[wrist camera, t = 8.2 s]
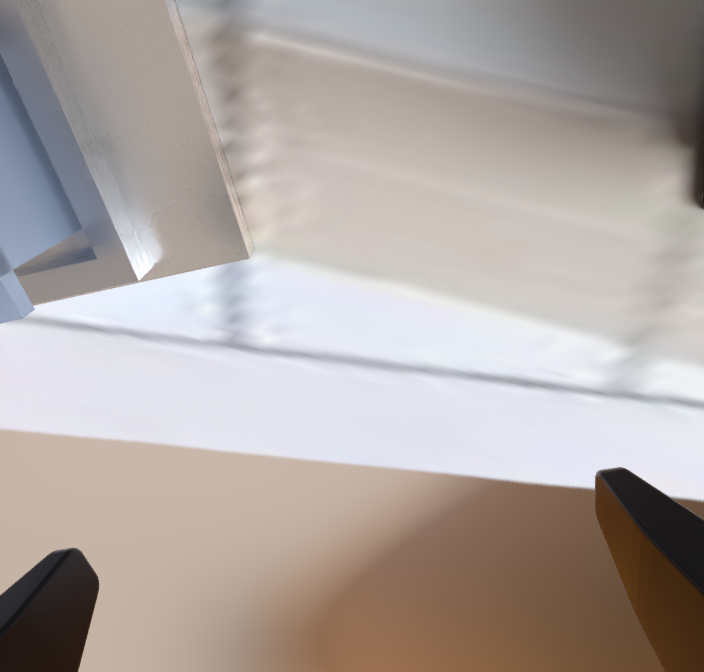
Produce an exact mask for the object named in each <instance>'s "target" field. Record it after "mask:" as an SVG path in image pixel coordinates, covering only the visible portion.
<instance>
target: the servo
mask: <svg viewBox="0 0 704 672" xmlns="http://www.w3.org/2000/svg"><path fill="white" fill-rule="evenodd" d="M81 229H82V228H81V226H80V224H79V222H78V220H77V217H76V215H75V213H74V211H73V209H72V207H71V205H70V203H69V200H68V198H67V196H66V194H65V192H64V190H63V188H62V186H61V184H60V181H59V179H58V177H57V175H56V173H55V171H54V169H53V167H52V164H51V162H50V160H49V158H48V156H47V154H46V152H45V150H44V147H43V145H42V143H41V141H40V139H39V137H38V135H37V133H36V130H35V128H34V126H33V124H32V122H31V120H30V118H29V116H28V113H27V111H26V109H25V107H24V105H23V103H22V101H21V99H20V97H19V94H18V92H17V90H16V88H15V86H14V84H13V82H12V80H11V77H10V75H9V73H8V71H7V69H6V67H5V65H4V63H3V60H2V58H1V56H0V323H4V322H9V321H13V320H18V319H23V318H24V317H25V316H27V315H28V314H29V313H31V312H32V311H33V310H35V309H34V307H33V305H32V303H31V301H30V300H29V298H28V296H27V294H26V292H25V291H24V289H23V287H22V285H21V283H20V282H19V280H18V278H17V276H16V274H15V273H14V271H13V269H15V268H17V267H19V266H20V265H22V264H24V263H25V262H27V261H29V260H30V259H32V258H34V257H35V256H37V255H39V254H40V253H42V252H44V251H46V250H47V249H49V248H51V247H52V246H54V245H56V244H57V243H59V242H61V241H62V240H64V239H66V238H68V237H69V236H71V235H73V234H74V233H76V232H78V231H79V230H81Z"/></svg>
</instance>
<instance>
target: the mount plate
mask: <svg viewBox="0 0 704 672" xmlns="http://www.w3.org/2000/svg"><path fill="white" fill-rule="evenodd" d="M0 56H1V58H2V60H3V63H4V65H5V67H6V69H7V71H8V73H9V75H10V77H11V80H12V82H13V84H14V86H15V88H16V90H17V92H18V94H19V97H20V99H21V101H22V103H23V105H24V107H25V109H26V111H27V113H28V116H29V118H30V120H31V122H32V124H33V126H34V128H35V130H36V133H37V135H38V137H39V139H40V141H41V143H42V145H43V147H44V150H45V152H46V154H47V156H48V158H49V160H50V162H51V164H52V167H53V169H54V171H55V173H56V175H57V177H58V179H59V181H60V184H61V186H62V188H63V190H64V192H65V194H66V196H67V198H68V200H69V203H70V205H71V207H72V209H73V211H74V213H75V215H76V217H77V220H78V222H79V224H80V226H81V228H82V229H81V230H79V231H78V232H76V233H74V234H73V235H71V236H69V237H68V238H66V239H64V240H62V241H61V242H59V243H57V244H56V245H54V246H52V247H51V248H49V249H47V250H46V251H44V252H42V253H40V254H39V255H37V256H35V257H34V258H32V259H30V260H29V261H27V262H25V263H24V264H22V265H20V266H19V267H17V268H15V269H13V271H14V273H15V274H16V276H17V278H18V280H19V282H20V283H21V285H22V287H23V289H24V291H25V292H26V294H27V296H28V298H29V300H30V301H31V303H32V305H33V306H34V305H38V304H43V303H47V302H52V301H56V300H61V299H66V298H70V297H75V296H79V295H84V294H89V293H93V292H98V291H102V290H107V289H111V288H116V287H121V286H125V285H130V284H134V283H139V282H144V281H148V280H153V279H157V278H162V277H166V276H171V275H176V274H180V273H185V272H189V271H194V270H199V269H203V268H208V267H212V266H217V265H221V264H226V263H231V262H235V261H240V260H244V259H249V258H250V257H251V255H252V253H253V251H254V247H253V243H252V240H251V237H250V234H249V231H248V228H247V225H246V222H245V219H244V215H243V212H242V209H241V206H240V203H239V200H238V197H237V194H236V191H235V188H234V184H233V181H232V178H231V175H230V172H229V169H228V166H227V163H226V160H225V157H224V153H223V150H222V147H221V144H220V141H219V138H218V135H217V132H216V129H215V125H214V122H213V119H212V116H211V113H210V110H209V107H208V104H207V101H206V98H205V94H204V91H203V88H202V85H201V82H200V79H199V76H198V73H197V70H196V67H195V63H194V60H193V57H192V54H191V51H190V48H189V45H188V42H187V39H186V35H185V32H184V29H183V26H182V23H181V20H180V17H179V14H178V11H177V8H176V4H175V1H174V0H0Z"/></svg>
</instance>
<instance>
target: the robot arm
mask: <svg viewBox="0 0 704 672" xmlns="http://www.w3.org/2000/svg"><path fill="white" fill-rule="evenodd" d="M703 163H704V158H703ZM703 209H704V194H703ZM595 511H596V516H597V520H598V522H599V525H600V528H601V530H602V533H603V535H604V538H605V540H606V542H607V545H608V548H609V550H610V553H611V555H612V558H613V560H614V563H615V565H616V568H617V570H618V573H619V575H620V578H621V580H622V583H623V585H624V588H625V590H626V593H627V595H628V598H629V600H630V603H631V605H632V608H633V610H634V612H635V615H636V616H637V619H638V621H639V623H640V625H641V627H642V629H643V631H644V633H645V635H646V636H647V639H648V640H649V642H650V644H651V646H652V648H653V650H654V652H655V654H656V656H657V658H658V660H659V661H660V663H661V665H662V667H663V669H664V671H665V672H704V519H702V518H701V517H699V516H698V515H696V514H695V513H693V512H692V511H690V510H689V509H687V508H685V507H684V506H682V505H681V504H679V503H678V502H676V501H675V500H673V499H672V498H670V497H669V496H667V495H666V494H664V493H663V492H661V491H660V490H658V489H656V488H655V487H653V486H652V485H650V484H649V483H647V482H646V481H644V480H643V479H641V478H640V477H638V476H637V475H635V474H634V473H632V472H631V471H629V470H627V469H625V468H622V467H618V468H611V469H604V470H600V471H598V472H597V473H596V476H595ZM98 591H99V580H98V576H97V575H96V573H95V572H94V570H93V568H92V567H91V565H90V564H89V562H88V561H87V559H86V558H85V556H84V555H83V553H82V552H81V551H80V550H79V549H77V548H69V549H61V550H56V551H53V552H51V553H50V554H49V555H47V556H46V557H45V558H44V559H43V560H42V561H40V562H39V563H38V564H37V565H36V566H34V568H32V569H31V570H30V571H28V572H27V573H26V574H25V575H24V576H23V577H21V578H20V579H19V580H18V581H17V582H16V583H14V584H13V585H12V586H11V587H10V588H8V589H7V590H6V591H5V592H4V593H3V594H1V595H0V672H78V669H79V666H80V662H81V658H82V654H83V650H84V646H85V643H86V639H87V635H88V631H89V627H90V623H91V619H92V615H93V611H94V607H95V603H96V599H97V595H98Z"/></svg>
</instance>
